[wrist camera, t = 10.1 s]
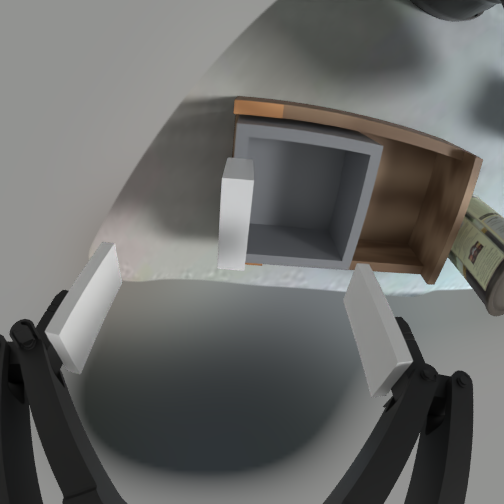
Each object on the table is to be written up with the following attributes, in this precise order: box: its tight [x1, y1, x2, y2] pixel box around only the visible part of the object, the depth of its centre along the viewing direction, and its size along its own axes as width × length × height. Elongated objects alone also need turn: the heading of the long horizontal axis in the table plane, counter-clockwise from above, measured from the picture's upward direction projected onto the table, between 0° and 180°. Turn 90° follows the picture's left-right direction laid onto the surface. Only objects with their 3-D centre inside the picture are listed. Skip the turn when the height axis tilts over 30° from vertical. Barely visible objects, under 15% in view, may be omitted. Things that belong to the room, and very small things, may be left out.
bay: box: [232, 96, 483, 284], centre depth 29 cm, size 16×25×8 cm, turn 84°
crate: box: [217, 114, 383, 271], centre depth 25 cm, size 13×12×12 cm
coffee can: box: [448, 194, 504, 316], centre depth 29 cm, size 10×10×14 cm
